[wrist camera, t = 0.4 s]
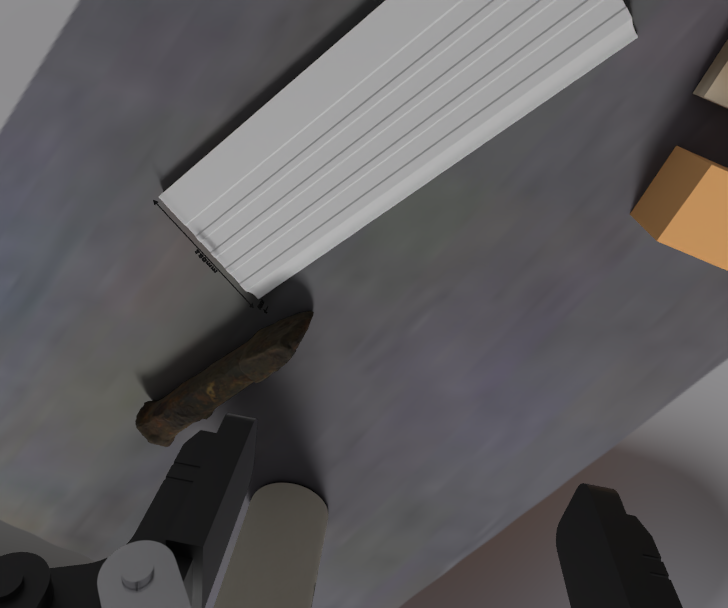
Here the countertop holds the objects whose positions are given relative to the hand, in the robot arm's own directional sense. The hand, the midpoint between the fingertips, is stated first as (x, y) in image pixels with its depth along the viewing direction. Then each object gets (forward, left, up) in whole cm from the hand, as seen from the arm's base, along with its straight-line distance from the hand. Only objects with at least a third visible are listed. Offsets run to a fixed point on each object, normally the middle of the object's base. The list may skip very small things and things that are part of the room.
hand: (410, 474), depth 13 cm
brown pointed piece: (+21, -9, -28) cm, 36 cm away
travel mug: (+36, +2, -27) cm, 45 cm away
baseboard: (-2, -3, -28) cm, 28 cm away
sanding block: (-5, +20, -27) cm, 34 cm away
